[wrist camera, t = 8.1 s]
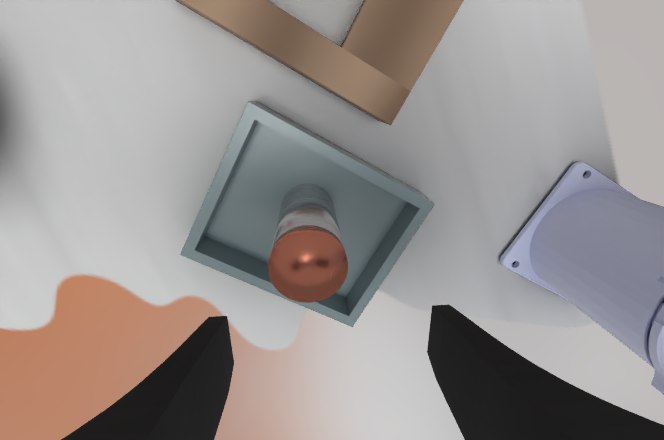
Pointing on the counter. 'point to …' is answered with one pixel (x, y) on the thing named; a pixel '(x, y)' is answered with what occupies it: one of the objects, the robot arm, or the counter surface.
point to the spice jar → (307, 246)
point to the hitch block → (345, 46)
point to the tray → (266, 198)
